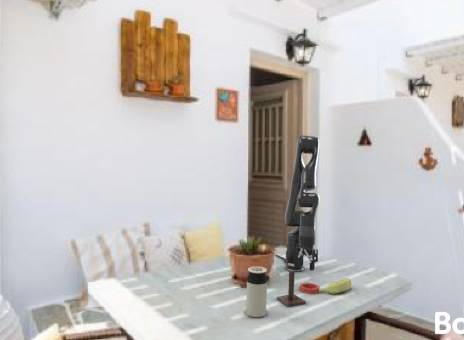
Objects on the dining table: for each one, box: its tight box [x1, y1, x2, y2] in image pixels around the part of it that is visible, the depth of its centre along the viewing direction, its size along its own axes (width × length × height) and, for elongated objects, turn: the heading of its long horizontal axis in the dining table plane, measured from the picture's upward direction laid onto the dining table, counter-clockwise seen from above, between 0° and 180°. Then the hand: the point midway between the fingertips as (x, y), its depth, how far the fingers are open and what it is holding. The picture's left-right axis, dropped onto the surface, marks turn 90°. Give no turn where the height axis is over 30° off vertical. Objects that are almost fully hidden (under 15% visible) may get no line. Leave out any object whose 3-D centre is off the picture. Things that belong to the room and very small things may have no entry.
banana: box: [319, 276, 353, 295], centre depth 185 cm, size 14×6×20 cm
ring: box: [299, 282, 320, 295], centre depth 183 cm, size 9×9×2 cm
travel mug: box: [245, 266, 268, 318], centre depth 154 cm, size 8×8×18 cm
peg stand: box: [276, 270, 307, 308], centre depth 168 cm, size 9×9×13 cm
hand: (306, 268), depth 185 cm, fingers open, 8 cm apart
